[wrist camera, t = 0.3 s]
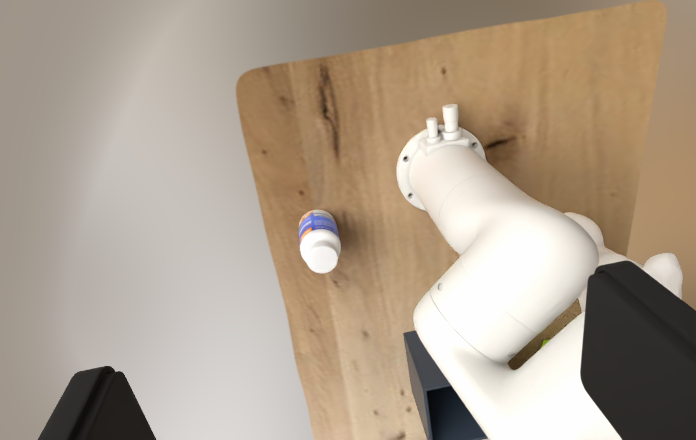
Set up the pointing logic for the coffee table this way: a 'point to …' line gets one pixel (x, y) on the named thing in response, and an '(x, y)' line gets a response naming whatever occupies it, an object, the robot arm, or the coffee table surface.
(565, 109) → the coffee table surface
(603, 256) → the torso sculpture
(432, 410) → the carton
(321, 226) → the pill bottle
